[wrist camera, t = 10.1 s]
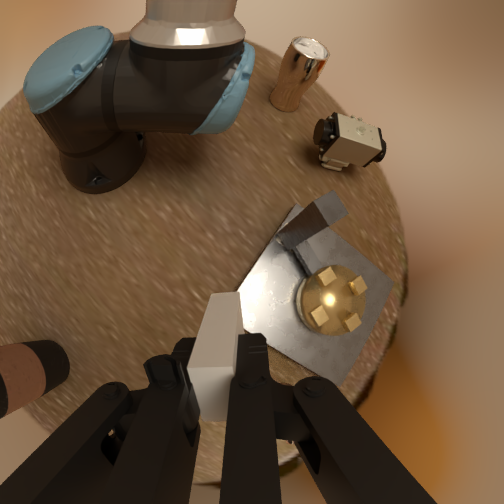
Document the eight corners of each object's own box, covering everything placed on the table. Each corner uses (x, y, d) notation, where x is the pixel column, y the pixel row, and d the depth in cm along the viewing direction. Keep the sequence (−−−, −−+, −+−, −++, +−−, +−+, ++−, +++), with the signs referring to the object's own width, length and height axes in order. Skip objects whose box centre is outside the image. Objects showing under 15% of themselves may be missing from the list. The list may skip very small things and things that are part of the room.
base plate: (220, 312, 39) (221, 313, 37) (292, 207, 44) (297, 202, 42) (334, 384, 40) (340, 387, 38) (387, 283, 46) (394, 282, 43)
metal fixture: (256, 245, 39) (286, 215, 27) (309, 214, 42) (354, 178, 29) (317, 347, 38) (369, 361, 26) (364, 309, 41) (423, 306, 28)
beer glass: (280, 84, 50) (304, 32, 35) (306, 103, 50) (337, 53, 35) (260, 99, 48) (282, 42, 33) (288, 119, 48) (319, 65, 33)
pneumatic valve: (357, 180, 48) (395, 150, 37) (300, 166, 46) (331, 128, 35) (355, 155, 50) (389, 123, 38) (300, 140, 47) (328, 101, 36)
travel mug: (64, 394, 31) (-6, 439, 12) (28, 367, 30) (-49, 391, 11) (77, 355, 33) (0, 384, 14) (40, 328, 32) (-44, 335, 13)
